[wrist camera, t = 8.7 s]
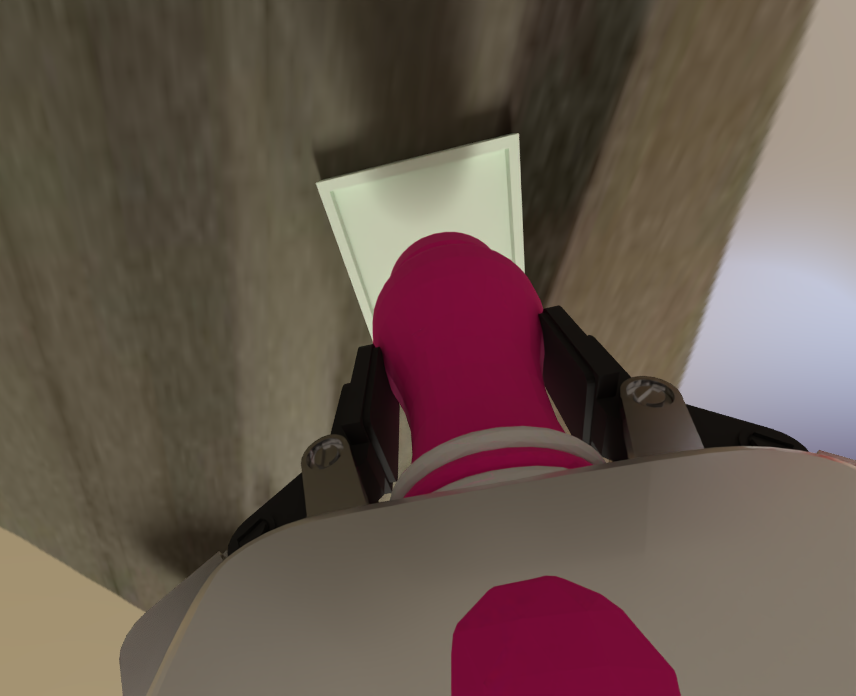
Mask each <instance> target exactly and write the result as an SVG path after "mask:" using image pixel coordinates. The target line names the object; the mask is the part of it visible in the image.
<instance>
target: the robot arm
mask: <svg viewBox="0 0 856 696" xmlns="http://www.w3.org/2000/svg"><path fill="white" fill-rule="evenodd" d="M538 316H539V320H540V323H541V327H542V332H543V340H544V352H545V355H544V362H543V379H544V385H545V387H546V389H547V391H548V393H549V395H550V397H551V398H552V400H553V402H554V404H555V406H556V408H557V409H558V411H559V413H560V415H561V417H562V418H563V420H564V422H565V424H566V426H567V428H568V429H569V431H570V433H571V435H572V436H574V437H576V438H578V439H580V440H581V441H583V442H585V443H586V444H588V445H590V446H591V447H593V448H594V449H595V450H596V451H597V452H598V453H599V454H600V455H601V456H602V457H604V458H607V459H609V463H604V464H598V465H592V466H586V467H580V468H574V469H568V470H562V471H556V472H550V473H544V474H540V475H535V476H530V477H525V478H520V479H515V480H509V481H504V482H498V483H492V484H486V485H479V486H473V487H465V488H458V489H452V490H447V491H441V492H435V493H430V494H424V495H419V496H413V497H407V498H402V499H396V500H391V501H385V502H378V500H379V499H380V498H381V497H382V496H383V495H384V494H387V493H392V488H393V482H397V480H398V451H399V411H400V406H399V402H398V400H397V398H396V397H395V395H394V394H393V392H392V390H391V387H390V384H389V380H388V377H387V373H386V370H385V365H384V360H383V354H382V350H381V348H380V347H375V345H374V344H371V345H366V346H361V347H359V348H358V352H357V356H356V361H355V365H354V370H353V374H352V379H351V383H347V384H344V385H343V388H342V391H341V395H340V399H339V403H338V407H337V411H336V415H335V419H334V423H333V427H332V431H331V435H327V436H324V437H321V438H320V439H318V440H316V441H315V442H313V443H312V444H311V445H310V446H309V447H308V448H307V450H306V451H305V452H304V454H303V457H302V460H301V468H302V473H301V474H299V475H298V476H297V477H296V478H295V479H293V480H292V481H291V482H290V483H289V484H288V485H286V486H285V487H284V488H283V489H282V490H281V491H279V492H278V493H277V494H276V495H275V496H274V497H272V498H271V499H270V500H269V501H268V502H267V503H265V504H264V505H263V506H262V507H261V508H259V509H258V510H257V511H256V512H255V513H254V514H252V515H251V516H250V517H249V518H248V519H247V520H245V521H244V522H243V523H242V524H241V525H240V527H239V528H238V529H237V530H236V532H235V533H234V535H233V536H232V538H231V541H230V543H229V545H228V550H226V551H225V552H224V553H223V554H222V553H220V552H219V551H218V552H217V553H216V554H215V555H214V556H212V557H211V558H210V559H209V560H208V561H206V562H205V563H204V564H203V565H202V566H201V567H199V568H198V569H197V570H196V571H195V572H193V573H192V574H191V575H190V576H189V577H187V578H186V579H185V580H184V581H183V582H181V583H180V584H179V585H178V586H177V587H175V588H174V589H173V590H172V591H171V592H169V593H168V594H167V595H166V596H165V597H163V598H162V599H161V600H160V601H159V602H158V603H156V604H155V605H154V606H153V607H152V608H150V609H149V610H148V611H147V612H146V613H145V614H144V615H143V616H142V617H141V618H140V619H139V620H138V621H137V622H136V623H135V624H134V625H133V627H132V629H131V630H130V631H129V633H128V634H127V635H126V638H125V640H124V642H123V644H122V647H121V650H120V658H119V660H120V671H121V682H122V691H123V696H451V650H452V639H453V633H454V630H455V628H456V625H457V623H458V622H459V621H460V620H461V619H462V618H463V617H464V616H465V615H466V614H467V612H468V611H469V610H470V609H471V608H472V607H473V606H474V605H475V604H476V603H477V602H478V601H479V600H480V599H481V598H482V597H483V595H484V594H485V593H486V592H487V591H488V590H489V589H491V588H492V587H494V586H499V585H504V584H509V583H514V582H519V581H524V580H529V579H533V578H538V577H542V576H545V575H547V576H557V577H560V578H564V579H566V580H569V581H571V582H573V583H576V584H578V585H581V586H583V587H585V588H588V589H590V590H593V591H595V592H597V593H600V594H602V595H603V596H604V597H606V598H607V599H609V600H610V601H611V602H613V603H614V604H615V605H617V606H618V607H620V608H621V609H622V610H623V611H624V612H625V613H626V614H627V616H628V617H629V618H630V619H631V620H632V622H633V623H634V624H635V625H636V626H637V627H638V629H639V630H640V631H641V632H642V633H643V635H644V636H645V637H646V638H647V639H648V640H649V641H650V643H651V644H652V645H653V646H654V647H655V648H656V649H657V651H658V652H659V653H660V654H661V655H662V656H663V657H664V659H665V660H666V661H667V662H668V663H669V664H670V666H671V667H672V668H673V669H674V670H675V673H676V675H677V680H678V685H679V689H680V693H681V696H856V460H853V459H849V458H846V457H842V456H839V455H835V454H832V453H828V452H824V451H821V450H819V451H818V452H817V453H811V452H809V451H808V450H807V449H806V448H805V447H804V446H803V445H802V444H801V443H799V442H798V441H797V440H795V439H794V438H792V437H790V436H788V435H786V434H784V433H782V432H779V431H776V430H774V429H770V428H767V427H764V426H760V425H757V424H753V423H750V422H746V421H743V420H739V419H736V418H733V417H729V416H726V415H722V414H719V413H715V412H712V411H708V410H705V409H701V408H698V407H694V406H691V405H688V404H685V402H684V400H683V397H682V395H681V393H680V392H679V390H678V389H677V388H676V387H675V386H673V385H672V384H671V383H668V382H666V381H664V380H662V379H658V378H655V377H648V376H637V377H632V378H631V377H630V375H629V374H628V373H627V372H626V371H625V370H624V369H623V368H622V367H621V366H620V365H619V364H618V362H617V361H616V360H615V359H614V358H613V357H612V356H611V355H610V354H609V353H608V352H607V351H606V349H605V348H604V347H603V346H602V345H601V344H600V343H599V342H598V341H597V340H596V339H595V338H594V337H593V336H591V335H588V336H587V335H586V334H585V333H584V332H583V331H582V329H581V328H580V327H579V326H578V325H577V324H576V323H575V322H574V320H573V319H572V318H571V317H570V316H569V315H568V314H567V313H566V312H565V310H564V309H563V308H562V307H561V306H554V307H550V308H545V309H543V312H542V313H540V314H538Z"/></svg>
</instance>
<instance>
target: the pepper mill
mask: <svg viewBox="0 0 856 696" xmlns="http://www.w3.org/2000/svg"><path fill="white" fill-rule="evenodd" d="M542 312H543V308H542V304H541V301H540V299H539V297H538V295H537V293H536V291H535V289H534V288H533V286H532V284H531V282H530V281H529V279H528V277H527V276H526V275H525V273H524V272H523V271H522V270H521V268H519V267H518V266H517V265H516V264H515V263H514V262H513V261H512V260H510V259H509V258H507V257H505V256H504V255H502V254H500V253H498V252H497V251H494V250H491V249H490V248H489V247H488V246H487V245H486V244H485V243H483V242H482V241H480V240H479V239H477V238H475V237H473V236H471V235H468V234H464V233H459V232H441V233H435V234H432V235H429V236H426V237H423V238H421V239H419V240H418V241H416V242H414V243H413V244H412V245H410V246H409V247H408V248H407V249H406V250H405V251H404V252H403V253H402V254H401V256H400V257H399V258H398V260H397V261H396V263H395V265H394V267H393V270H392V272H391V276H390V277H389V279H388V280H387V281H386V283H385V284H384V286H383V288H382V290H381V292H380V294H379V296H378V298H377V301H376V304H375V308H374V313H373V322H372V324H373V344H374V345H375V347H380V348H381V350H382V354H383V360H384V365H385V370H386V373H387V377H388V380H389V384H390V387H391V390H392V392H393V394H394V395H395V397H396V398H397V400H398V402H399V403H400V405H401V407H402V409H403V410H404V412H405V414H406V417H407V421H408V424H409V427H410V430H411V438H412V453H413V455H412V463H411V465H410V466H409V467H408V468H407V469H406V470H405V471H404V472H403V473H402V474H401V476H400V477H399V479H398V481H397V483H396V484H395V486H394V488H393V490H392V493H391V498H390V501H391V500H396V499H402V498H407V497H413V496H419V495H424V494H430V493H435V492H441V491H447V490H452V489H458V488H465V487H473V486H479V485H486V484H492V483H498V482H504V481H509V480H515V479H520V478H525V477H530V476H535V475H540V474H544V473H550V472H556V471H562V470H568V469H574V468H580V467H586V466H592V465H598V464H604V463H606V462H605V460H604V459H603V457H602V456H601V455H600V454H599V453H598V452H597V451H596V450H595V449H594V448H593V447H591V446H590V445H588V444H586V443H585V442H583V441H581V440H580V439H578V438H576V437H574V436H572V435H569V434H566V433H565V432H564V430H563V428H562V427H561V425H560V424H559V422H558V421H557V418H556V416H555V413H554V411H553V408H552V405H551V403H550V400H549V398H548V395H547V393H546V390H545V385H544V379H543V362H544V355H545V352H544V340H543V332H542V327H541V323H540V320H539V316H538V314H540V313H542ZM451 696H681V693H680V689H679V685H678V680H677V675H676V673H675V670H674V669H673V668H672V667H671V666H670V664H669V663H668V662H667V661H666V660H665V659H664V657H663V656H662V655H661V654H660V653H659V652H658V651H657V649H656V648H655V647H654V646H653V645H652V644H651V643H650V641H649V640H648V639H647V638H646V637H645V636H644V635H643V633H642V632H641V631H640V630H639V629H638V627H637V626H636V625H635V624H634V623H633V622H632V620H631V619H630V618H629V617H628V616H627V614H626V613H625V612H624V611H623V610H622V609H621V608H620V607H618V606H617V605H615V604H614V603H613V602H611V601H610V600H609V599H607V598H606V597H604V596H603V595H602V594H600V593H597V592H595V591H593V590H590V589H588V588H585V587H583V586H581V585H578V584H576V583H573V582H571V581H569V580H566V579H564V578H560V577H557V576H547V575H545V576H542V577H538V578H533V579H529V580H524V581H519V582H514V583H509V584H504V585H499V586H494V587H492V588H491V589H489V590H488V591H487V592H486V593H485V594H484V595H483V597H482V598H481V599H480V600H479V601H478V602H477V603H476V604H475V605H474V606H473V607H472V608H471V609H470V610H469V611H468V612H467V614H466V615H465V616H464V617H463V618H462V619H461V620H460V621H459V622H458V623H457V625H456V628H455V630H454V633H453V639H452V650H451Z"/></svg>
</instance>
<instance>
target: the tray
mask: <svg viewBox="0 0 856 696" xmlns="http://www.w3.org/2000/svg"><path fill="white" fill-rule="evenodd" d="M316 185H317V188H318V190H319V193H320V196H321V199H322V202H323V204H324V207H325V210H326V213H327V215H328V218H329V221H330V224H331V226H332V229H333V232H334V235H335V238H336V240H337V243H338V246H339V249H340V251H341V254H342V257H343V260H344V263H345V265H346V268H347V271H348V274H349V276H350V279H351V282H352V285H353V288H354V290H355V293H356V296H357V299H358V301H359V304H360V307H361V310H362V312H363V315H364V318H365V321H366V324H367V326H368V329H369V332H370V335H371V337H372V340H373V324H372V322H373V313H374V308H375V304H376V301H377V298H378V296H379V294H380V292H381V290H382V288H383V286H384V284H385V283H386V281H387V280H388V279H389V277H390V276H391V272H392V270H393V267H394V265H395V263H396V261H397V260H398V258H399V257H400V256H401V254H402V253H403V252H404V251H405V250H406V249H407V248H408V247H409V246H410V245H412V244H413V243H414V242H416V241H418V240H419V239H421V238H423V237H426V236H429V235H432V234H435V233H441V232H459V233H464V234H468V235H471V236H473V237H475V238H477V239H479V240H480V241H482V242H483V243H485V244H486V245H487V246H488V247H489V248H490V249H491V250H494V251H497V252H498V253H500V254H502V255H504V256H505V257H507V258H509V259H510V260H512V261H513V262H514V263H515V264H516V265H517V266H518V267H519V268H521V270H522V271H523V272H524V273H525V269H524V246H523V222H522V198H521V174H520V151H519V133H511V134H507V135H503V136H499V137H495V138H491V139H487V140H483V141H479V142H474V143H470V144H466V145H462V146H458V147H454V148H450V149H446V150H442V151H438V152H434V153H430V154H425V155H421V156H417V157H413V158H409V159H405V160H401V161H397V162H393V163H389V164H385V165H381V166H377V167H372V168H368V169H364V170H360V171H356V172H352V173H348V174H344V175H340V176H336V177H332V178H328V179H324V180H320V181H319V182H317V183H316Z"/></svg>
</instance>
